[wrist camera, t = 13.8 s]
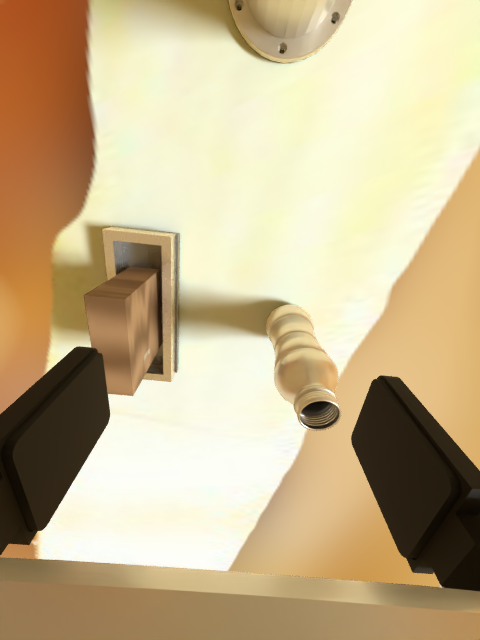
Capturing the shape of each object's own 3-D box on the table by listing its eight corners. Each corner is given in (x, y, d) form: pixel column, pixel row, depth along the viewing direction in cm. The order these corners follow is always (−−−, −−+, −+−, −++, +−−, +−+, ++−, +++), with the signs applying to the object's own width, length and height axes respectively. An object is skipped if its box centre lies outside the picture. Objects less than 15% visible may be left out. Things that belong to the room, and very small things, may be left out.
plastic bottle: (306, 338, 43) (353, 442, 25) (264, 338, 43) (278, 442, 25) (310, 299, 40) (366, 385, 22) (264, 300, 40) (282, 385, 22)
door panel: (130, 266, 37) (83, 295, 26) (160, 269, 37) (125, 299, 27) (135, 342, 42) (98, 392, 31) (161, 344, 42) (133, 395, 31)
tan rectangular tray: (112, 226, 36) (99, 228, 33) (179, 233, 36) (173, 237, 33) (124, 363, 45) (115, 376, 42) (178, 369, 45) (173, 382, 42)
